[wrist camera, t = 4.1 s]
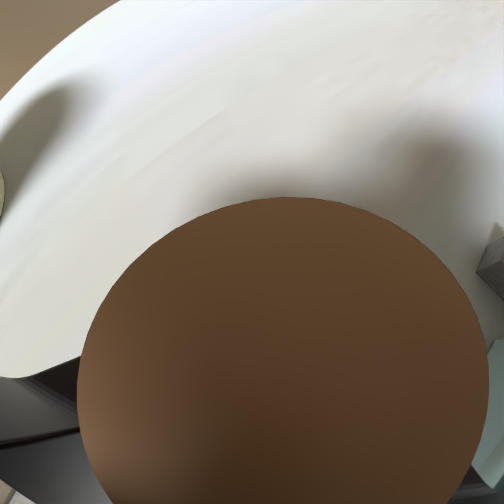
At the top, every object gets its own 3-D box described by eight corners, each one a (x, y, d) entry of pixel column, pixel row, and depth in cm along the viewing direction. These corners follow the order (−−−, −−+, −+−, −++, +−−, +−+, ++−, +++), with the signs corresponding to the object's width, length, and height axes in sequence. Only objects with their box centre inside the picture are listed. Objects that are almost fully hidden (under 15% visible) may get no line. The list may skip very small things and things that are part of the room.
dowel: (314, 390, 14) (461, 543, 2) (238, 393, 14) (106, 559, 2) (312, 316, 15) (467, 197, 3) (236, 318, 15) (86, 211, 3)
